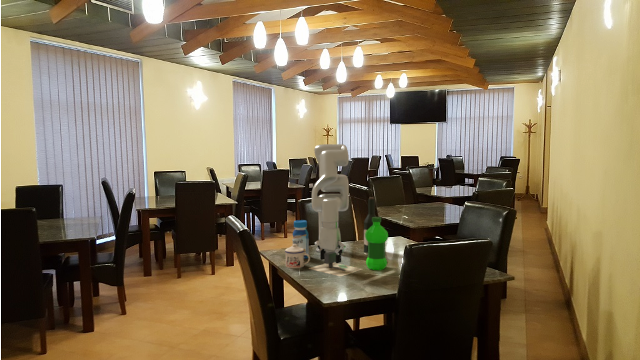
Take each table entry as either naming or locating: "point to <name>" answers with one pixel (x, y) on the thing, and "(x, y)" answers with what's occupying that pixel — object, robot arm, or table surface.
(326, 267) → the board
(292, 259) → the teacup with lid
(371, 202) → the wine bottle
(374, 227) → the plastic bottle
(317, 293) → the table surface
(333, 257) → the sledge mallet
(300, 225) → the beverage bottle
